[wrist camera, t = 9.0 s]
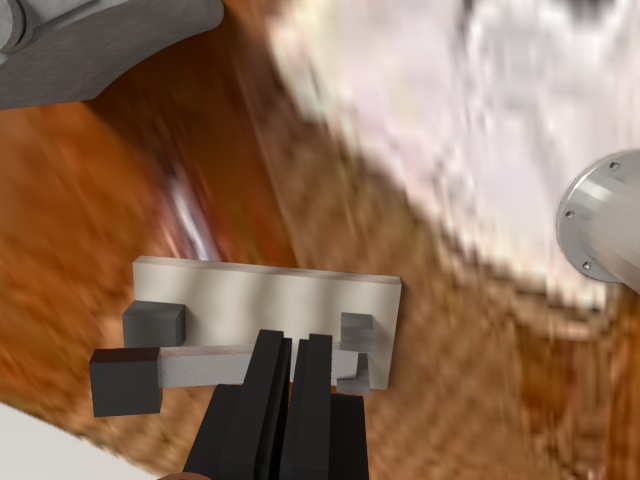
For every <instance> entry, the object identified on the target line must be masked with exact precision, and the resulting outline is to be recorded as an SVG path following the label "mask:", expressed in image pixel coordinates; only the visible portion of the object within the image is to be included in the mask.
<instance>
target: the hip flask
mask: <svg viewBox="0 0 640 480" xmlns="http://www.w3.org/2000/svg"><path fill="white" fill-rule="evenodd" d="M223 16H224V6H223V3H222V0H0V110H7V109H15V108H24V107H32V106H41V105H49V104H58V103H66V102H75V101H83V100H91V99H94V98H96V97H97V96H98V95H99V94H100V93H101V92H102V91H103V90H104V89H105V88H106V87H107V86H109V85H110V84H111V83H112V82H113V81H114V80H116V79H117V78H118V77H119V76H121V75H122V74H123V73H125V72H126V71H127V70H129V69H130V68H132V67H133V66H135V65H136V64H138V63H139V62H141V61H143V60H144V59H146V58H148V57H150V56H151V55H153V54H155V53H156V52H158V51H160V50H162V49H164V48H166V47H168V46H170V45H172V44H174V43H176V42H178V41H181V40H183V39H186V38H188V37H190V36H193V35H196V34H199V33H202V32H205V31H209V30H212V29H214V28H216V27H217V26H218V25H219V24H220V23H221V21H222V19H223Z"/></svg>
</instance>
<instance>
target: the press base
mask: <svg viewBox="0 0 640 480" xmlns="http://www.w3.org/2000/svg"><path fill="white" fill-rule="evenodd" d="M133 275H134V292H135V301H134V302H133V303H132V304H131V305H130V306H129V307H128V309H127V310H126V311H125V312H124V313H123V314H122V320H123V334H124V347H125V348H144V347H161V348H162V347H190V346H217V345H245V344H255V343H256V340H257V337H258V334H259V331H260V329H265V330H277V331H284V337H285V338H292V343H299V339H309V333H312V334H324V335H333V339H332V341H341V350H343V351H355V352H358V361H357V370H356V378H339V379H331V385H335V386H336V392H342V393H353V394H365V395H369V394H370V389H381V390H387V385H388V378H389V371H390V364H391V357H392V350H393V343H394V336H395V329H396V322H397V315H398V308H399V301H400V294H401V287H402V285H401V281H400V278H399V277H395V276H383V275H371V274H359V273H346V272H334V271H322V270H310V269H298V268H286V267H274V266H262V265H250V264H238V263H226V262H214V261H202V260H190V259H178V258H166V257H154V256H142V255H141V256H140V257H139V258H137V259H136V260H135V261H134V262H133ZM290 382H293V381H290Z"/></svg>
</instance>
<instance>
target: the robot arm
mask: <svg viewBox="0 0 640 480" xmlns="http://www.w3.org/2000/svg"><path fill="white" fill-rule="evenodd" d="M611 163H612V166H610V165H611ZM568 211H569V213H568V214H567V215H566V213H567V212H568ZM556 235H557V240H558V243H559V246H560V249H561V251H562V253H563V254H564V256H565V257H566V259H567V260H568V261H569V262H570V263H571V264H572V265H573V266H574V267H575V268H576V269H578V270H579V271H580V272H582V273H583V274H585V275H587V276H589V277H591V278H593V279H596V280H600V281H604V282H613V283H622V282H623V283H625V284H626V285H627V286H629V287H630V288H631V289H633V290H634V291H635V292H637V293H638V294H639V295H640V149H637V150H628V151H622V152H619V153H615V154H612V155H609V156H607V157H605V158H603V159H601V160H599V161H597V162H595V163H594V164H593V165H591V166H590V167H588V168H587V169H585V170H584V171H583V172H582V173H581V174H580V175H579V176H578V177H577V178H576V179H575V180H574V181H573V183H572V184H571V185H570V187H569V188H568V189H567V191H566V193H565V195H564V197H563V199H562V201H561V203H560V206H559V209H558V213H557V218H556ZM332 339H333V335H324V334H312V333H309V339H299V345H298V352H297V358H296V365H295V371H294V378H293V384H292V391H291V397H290V404H289V410H288V403H289V387H290V371H291V354H292V338H285V337H284V331H277V330H265V329H260V331H259V334H258V337H257V340H256V343H255V346H254V350H253V353H252V356H251V359H250V362H249V366H248V369H247V372H246V375H245V378H244V382H243V385H242V386H241V385H230V384H218V385H217V386H216V388H215V390H214V393H213V395H212V398H211V400H210V403H209V406H208V408H207V411H206V413H205V416H204V418H203V421H202V423H201V426H200V428H199V431H198V433H197V436H196V438H195V441H194V444H193V446H192V449H191V451H190V454H189V456H188V459H187V461H186V464H185V466H184V469H183V471H182V473H176V474H170V475H167V476H165V477H162V478H160V479H157V480H369V471H368V457H367V443H366V428H365V414H364V401H363V396H357V395H345V394H334V393H331V372H332Z"/></svg>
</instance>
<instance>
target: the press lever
mask: <svg viewBox="0 0 640 480" xmlns="http://www.w3.org/2000/svg"><path fill="white" fill-rule="evenodd" d="M298 345H299V343H292V354H291V371H290V381H293V378H294V371H295V365H296V358H297V352H298ZM254 346H255V344H245V345H217V346H190V347H162V348H161V347H144V348H117V349H95V351H94V353H93V355H92V358H91V360H90V362H89V371H90V381H91V390H92V400H93V410H94V417H106V416H122V415H138V414H155V413H160V409H161V404H162V399H163V393H162V388H166V387H185V386H204V385H218V384H243V382H244V378H245V375H246V372H247V369H248V366H249V362H250V359H251V356H252V353H253V350H254ZM357 361H358V352H355V351H343V350H341V341H332V372H331V379H339V378H356V370H357Z"/></svg>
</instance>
